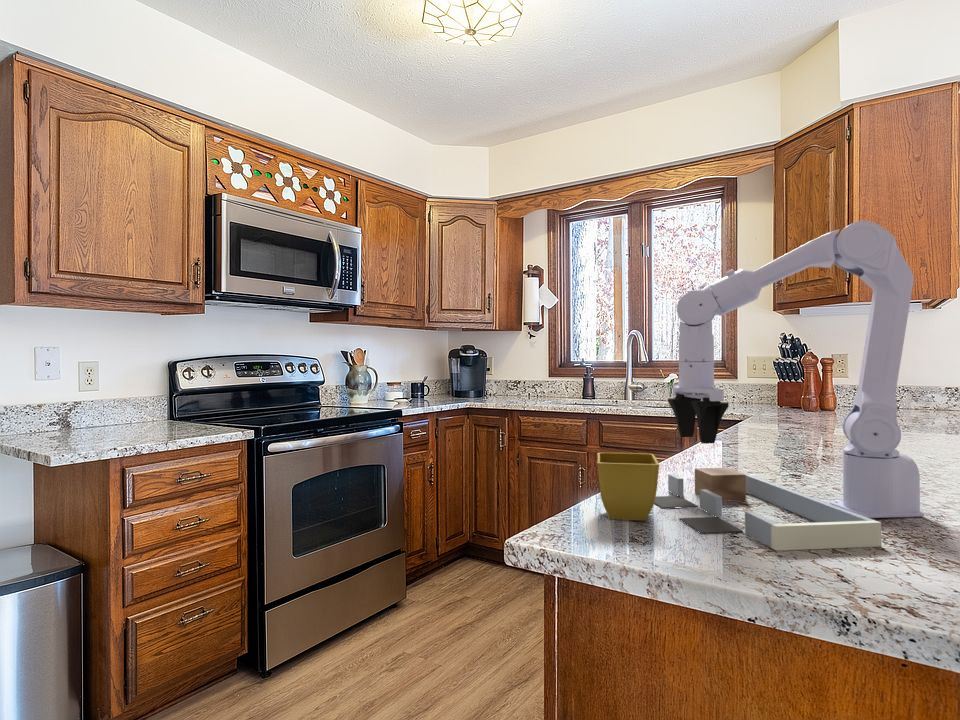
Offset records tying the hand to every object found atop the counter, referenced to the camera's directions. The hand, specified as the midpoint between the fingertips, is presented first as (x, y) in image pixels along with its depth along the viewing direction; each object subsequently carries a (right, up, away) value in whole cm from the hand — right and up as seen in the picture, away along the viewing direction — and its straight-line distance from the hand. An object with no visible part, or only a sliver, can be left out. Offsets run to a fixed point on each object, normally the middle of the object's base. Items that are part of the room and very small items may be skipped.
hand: (696, 439), depth 99 cm
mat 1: (-6, -10, -5) cm, 12 cm away
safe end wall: (+6, -10, -27) cm, 29 cm away
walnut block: (+4, -10, -1) cm, 10 cm away
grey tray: (+5, -10, -11) cm, 15 cm away
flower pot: (-15, -10, -13) cm, 22 cm away
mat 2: (-5, -10, -18) cm, 21 cm away
